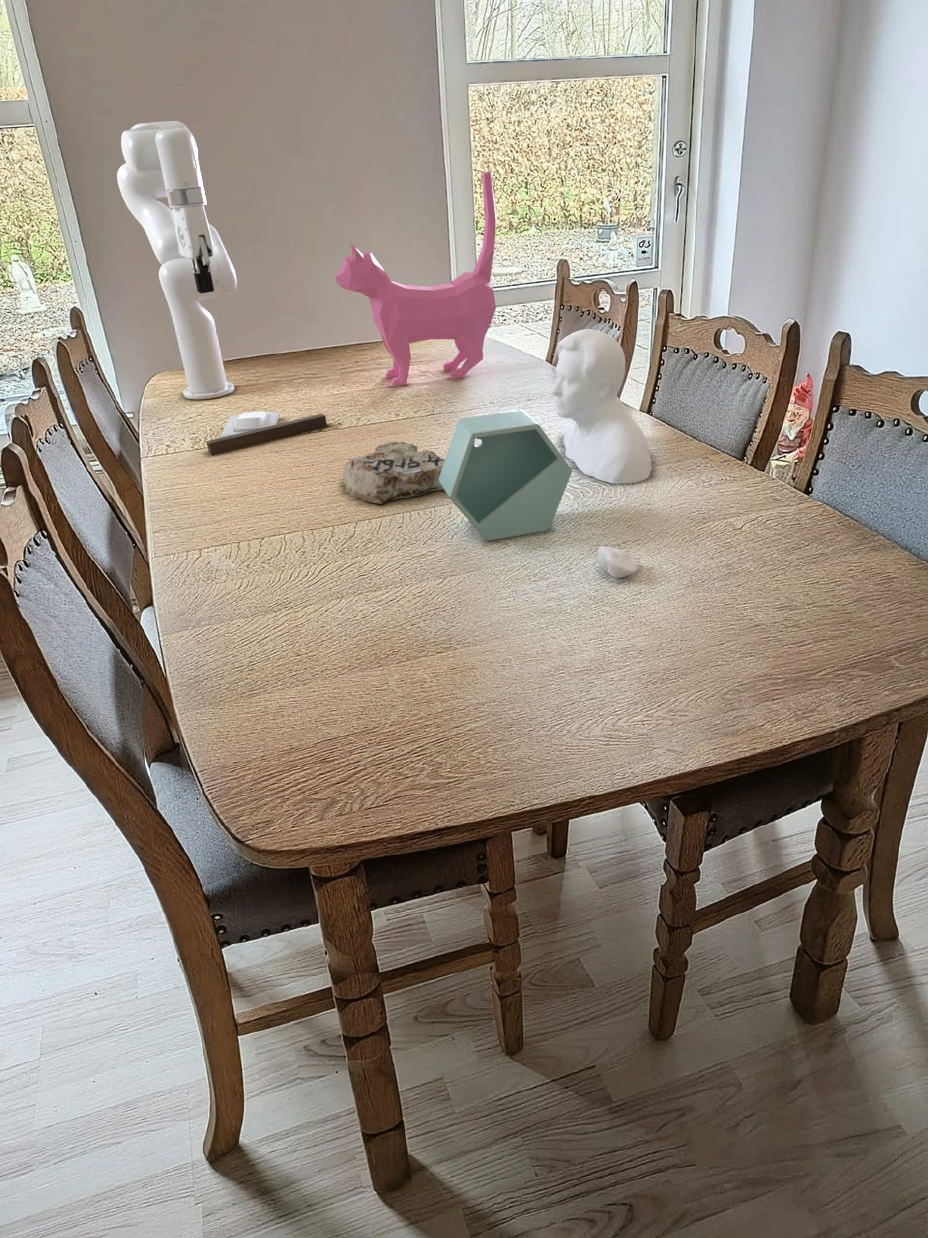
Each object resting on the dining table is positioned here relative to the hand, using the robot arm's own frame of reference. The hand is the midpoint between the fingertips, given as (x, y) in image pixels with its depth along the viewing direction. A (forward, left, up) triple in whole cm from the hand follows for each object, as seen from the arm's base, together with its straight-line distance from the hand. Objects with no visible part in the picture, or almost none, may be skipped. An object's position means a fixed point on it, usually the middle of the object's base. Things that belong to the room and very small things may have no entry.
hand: (206, 291), depth 187 cm
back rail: (+24, 0, -27) cm, 36 cm away
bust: (+79, +44, -27) cm, 94 cm away
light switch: (+15, -1, -27) cm, 31 cm away
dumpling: (+116, +16, -27) cm, 120 cm away
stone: (+62, +9, -27) cm, 68 cm away
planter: (+93, +13, -27) cm, 98 cm away
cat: (+7, +49, -27) cm, 57 cm away
